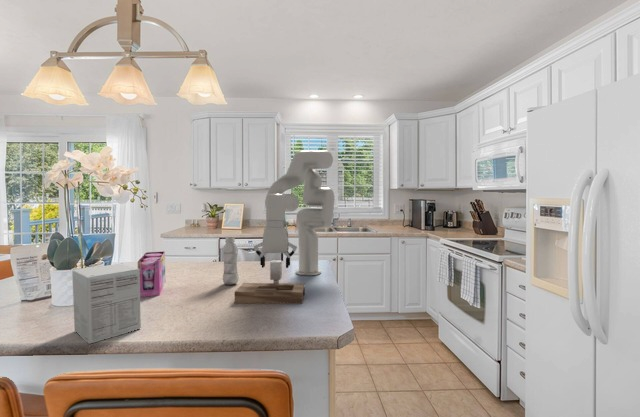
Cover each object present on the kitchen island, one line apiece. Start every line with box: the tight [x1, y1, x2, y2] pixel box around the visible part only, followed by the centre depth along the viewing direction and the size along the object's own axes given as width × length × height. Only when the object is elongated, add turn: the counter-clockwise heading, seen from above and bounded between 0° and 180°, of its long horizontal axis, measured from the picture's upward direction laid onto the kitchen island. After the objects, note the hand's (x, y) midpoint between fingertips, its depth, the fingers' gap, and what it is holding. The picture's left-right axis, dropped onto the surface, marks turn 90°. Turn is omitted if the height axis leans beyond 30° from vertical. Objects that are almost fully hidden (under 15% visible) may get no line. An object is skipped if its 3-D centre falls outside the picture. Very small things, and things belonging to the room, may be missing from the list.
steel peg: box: [269, 259, 283, 283], centre depth 136 cm, size 4×4×12 cm
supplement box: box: [71, 263, 142, 345], centre depth 95 cm, size 13×13×18 cm
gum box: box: [137, 251, 167, 298], centre depth 137 cm, size 24×8×14 cm, turn 20°
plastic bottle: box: [221, 236, 240, 286], centre depth 144 cm, size 6×7×20 cm
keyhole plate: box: [234, 282, 306, 305], centre depth 125 cm, size 12×24×4 cm, turn 88°
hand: (275, 267), depth 135 cm, fingers open, 9 cm apart
